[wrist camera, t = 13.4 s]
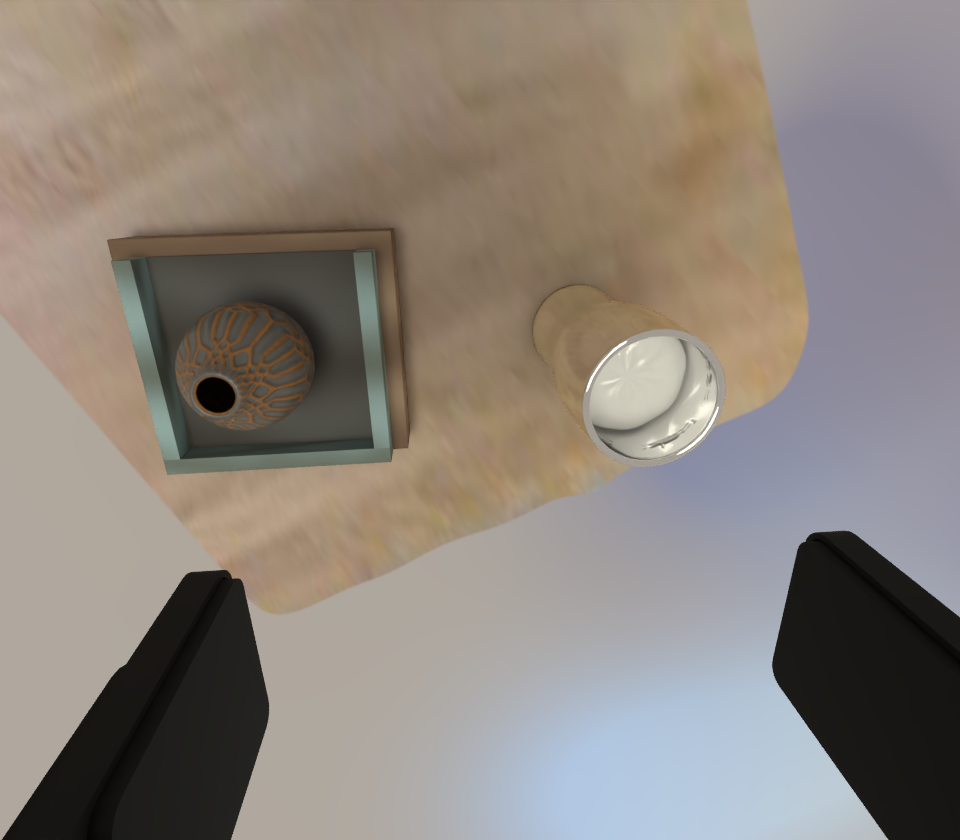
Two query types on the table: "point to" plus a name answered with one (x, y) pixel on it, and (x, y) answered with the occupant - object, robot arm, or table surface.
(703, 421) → the beer glass
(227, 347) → the vase
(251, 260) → the dock
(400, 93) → the table surface
